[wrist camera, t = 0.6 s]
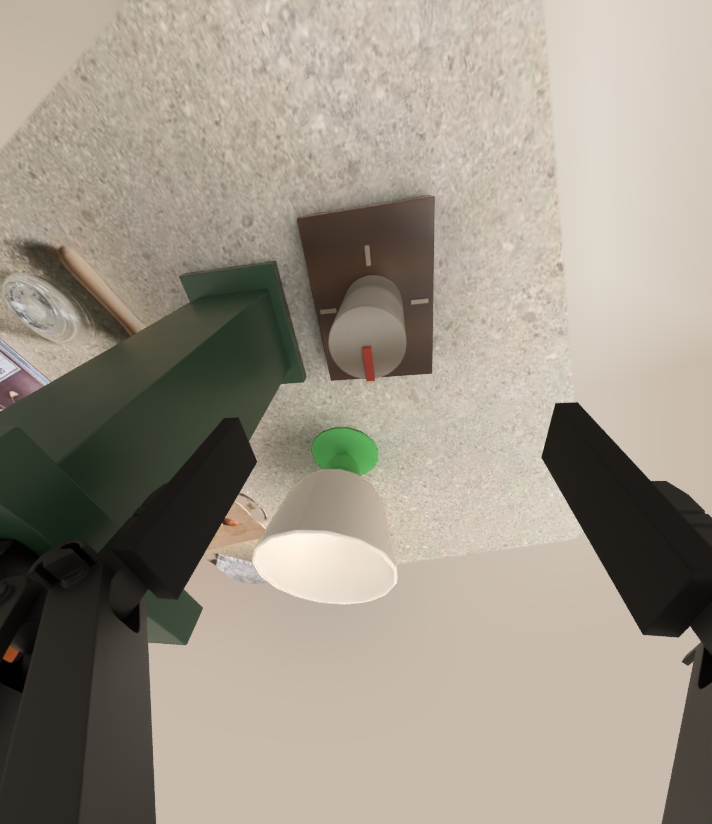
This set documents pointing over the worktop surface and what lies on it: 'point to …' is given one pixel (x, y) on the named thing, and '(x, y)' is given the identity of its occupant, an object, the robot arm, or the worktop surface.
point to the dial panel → (375, 268)
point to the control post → (142, 422)
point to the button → (10, 654)
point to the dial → (369, 329)
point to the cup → (331, 528)
